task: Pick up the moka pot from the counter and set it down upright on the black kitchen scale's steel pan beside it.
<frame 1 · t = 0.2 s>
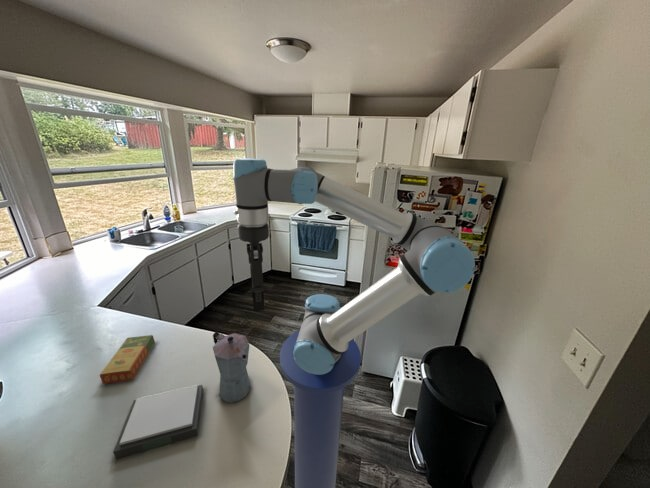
hand: (257, 295, 70), 29 cm above the table, tool pointing down, fingers open, 13 cm apart
kitchen scale: (165, 420, 65), on the table
moka pot: (233, 389, 75), on the table
carton: (131, 362, 82), on the table
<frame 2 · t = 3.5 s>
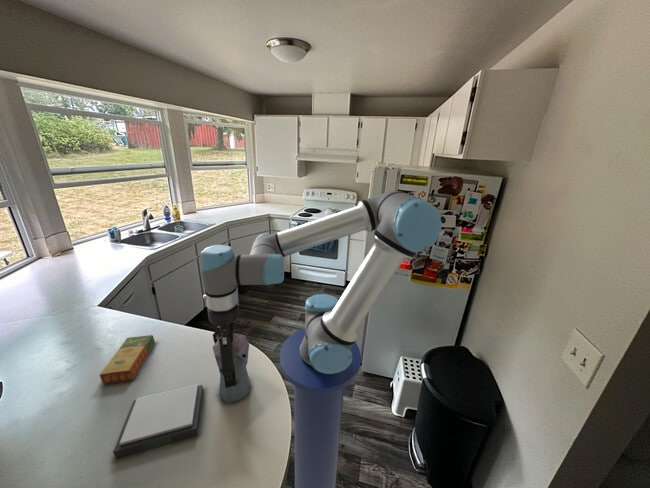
hand: (231, 369, 72), 8 cm above the table, tool pointing down, fingers closed on moka pot, 10 cm apart
moka pot: (233, 389, 75), on the table, touching gripper
everything else where it was.
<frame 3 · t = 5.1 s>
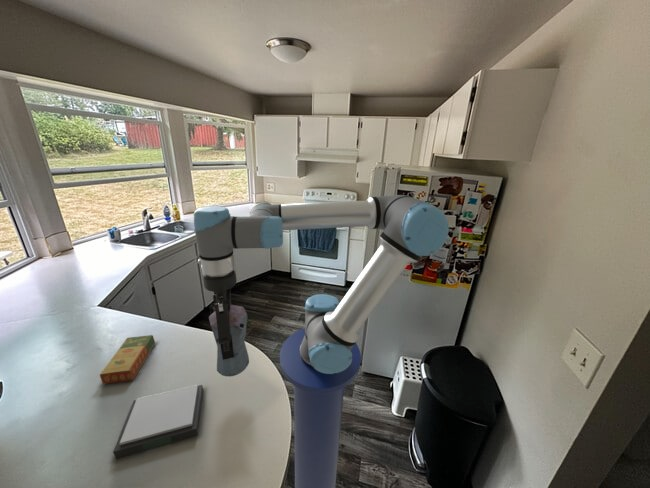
hand: (228, 342, 69), 17 cm above the table, tool pointing down, fingers closed on moka pot, 10 cm apart
moka pot: (232, 364, 71), point 9 cm above the table, touching gripper
everything else where it was.
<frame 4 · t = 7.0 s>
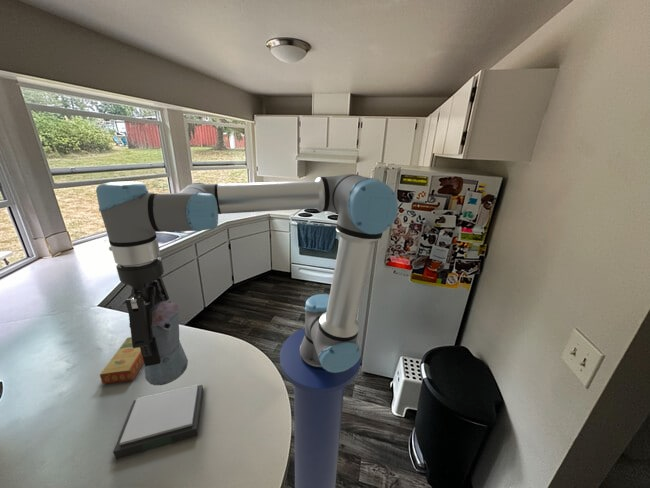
hand: (159, 345, 59), 24 cm above the table, tool pointing down, fingers closed on moka pot, 10 cm apart
moka pot: (166, 370, 62), point 16 cm above the table, touching gripper
everything else where it was.
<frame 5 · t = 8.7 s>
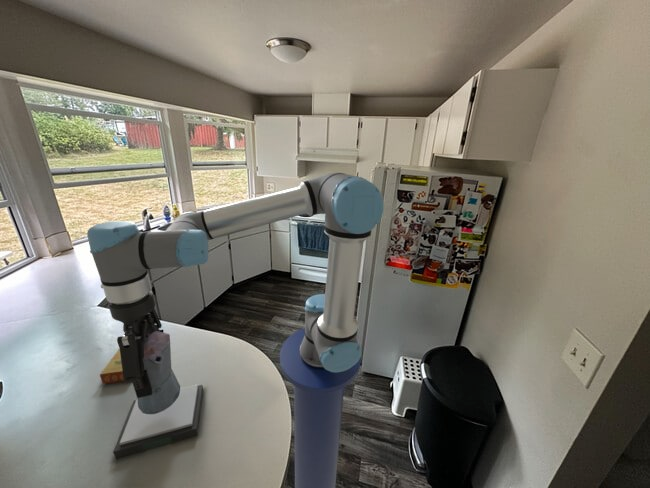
hand: (152, 374, 60), 16 cm above the table, tool pointing down, fingers closed on moka pot, 10 cm apart
moka pot: (159, 398, 63), point 8 cm above the table, touching gripper
everything else where it was.
when the fingers open (11 cm above the table, at t = 10.5 s): moka pot stays where it is, resting on kitchen scale.
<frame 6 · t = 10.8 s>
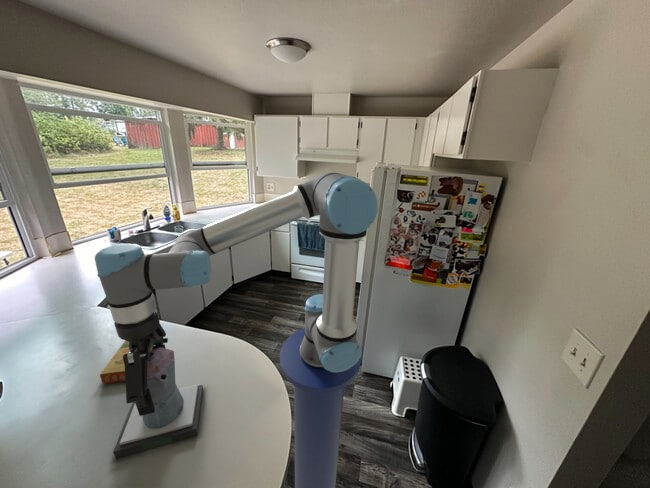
hand: (156, 386, 61), 12 cm above the table, tool pointing down, fingers open, 13 cm apart
moka pot: (163, 411, 64), point 3 cm above the table, touching kitchen scale
everything else where it was.
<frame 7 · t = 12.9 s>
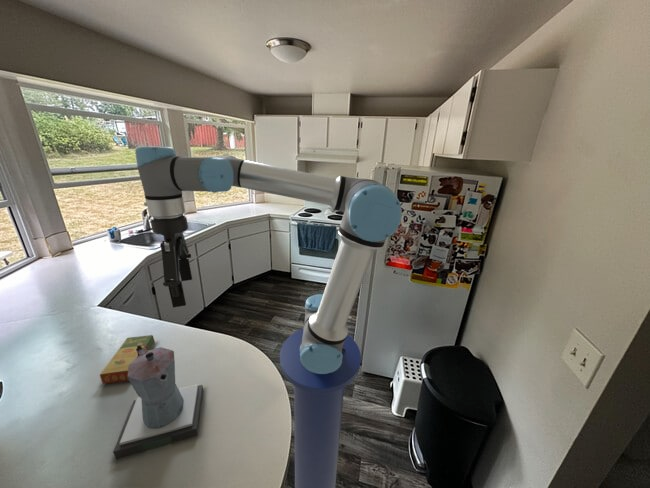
hand: (183, 291, 67), 31 cm above the table, tool pointing down, fingers open, 13 cm apart
nothing on the table moved.
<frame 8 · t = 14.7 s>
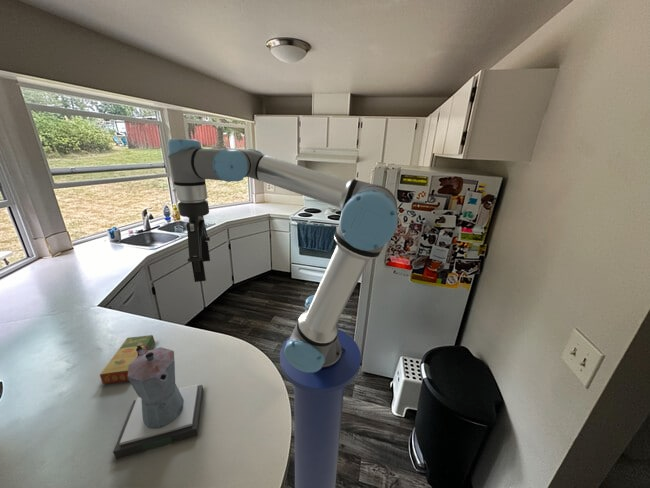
hand: (203, 270, 75), 33 cm above the table, tool pointing down, fingers open, 13 cm apart
nothing on the table moved.
at the end: moka pot inside the target area on the kitchen scale (0.1 cm from its centre), point 3.1 cm above the kitchen scale's base; moka pot tilted 0°; the gripper is holding nothing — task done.
